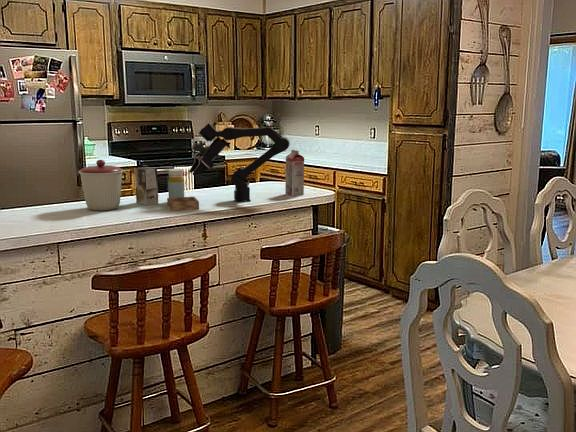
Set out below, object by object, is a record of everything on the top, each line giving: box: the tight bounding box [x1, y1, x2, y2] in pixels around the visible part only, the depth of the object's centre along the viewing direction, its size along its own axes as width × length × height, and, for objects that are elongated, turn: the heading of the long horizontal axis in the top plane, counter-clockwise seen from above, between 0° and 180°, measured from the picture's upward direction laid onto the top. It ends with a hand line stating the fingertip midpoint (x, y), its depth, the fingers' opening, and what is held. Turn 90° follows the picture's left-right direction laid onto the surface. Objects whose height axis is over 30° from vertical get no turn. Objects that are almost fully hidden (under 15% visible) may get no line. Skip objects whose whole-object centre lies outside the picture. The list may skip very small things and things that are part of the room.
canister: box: [78, 159, 124, 212], centre depth 239 cm, size 18×18×21 cm
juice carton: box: [284, 149, 305, 197], centre depth 278 cm, size 7×7×22 cm
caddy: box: [166, 196, 200, 212], centre depth 245 cm, size 12×12×4 cm
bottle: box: [167, 168, 185, 198], centre depth 256 cm, size 7×7×15 cm
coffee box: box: [133, 166, 159, 206], centre depth 252 cm, size 9×6×16 cm
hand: (191, 173), depth 257 cm, fingers open, 9 cm apart
